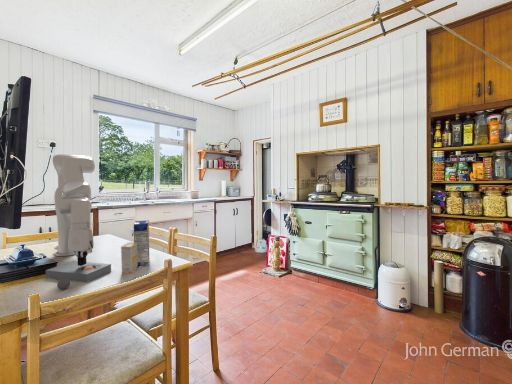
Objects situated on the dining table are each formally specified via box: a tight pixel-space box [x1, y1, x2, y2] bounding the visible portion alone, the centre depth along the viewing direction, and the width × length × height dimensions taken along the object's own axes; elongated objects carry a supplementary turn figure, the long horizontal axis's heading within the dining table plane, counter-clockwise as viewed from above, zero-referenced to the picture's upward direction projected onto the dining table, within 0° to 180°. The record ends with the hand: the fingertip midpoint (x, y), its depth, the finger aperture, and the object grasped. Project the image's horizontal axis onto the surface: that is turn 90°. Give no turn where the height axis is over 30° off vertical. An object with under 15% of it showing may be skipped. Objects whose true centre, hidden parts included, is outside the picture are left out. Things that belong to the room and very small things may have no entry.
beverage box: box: [133, 220, 150, 268], centre depth 139 cm, size 7×11×22 cm, turn 21°
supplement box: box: [120, 241, 139, 274], centre depth 129 cm, size 8×5×13 cm, turn 5°
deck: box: [45, 260, 112, 283], centre depth 123 cm, size 22×14×4 cm, turn 78°
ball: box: [56, 278, 72, 290], centre depth 107 cm, size 4×4×4 cm
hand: (82, 264), depth 123 cm, fingers closed
